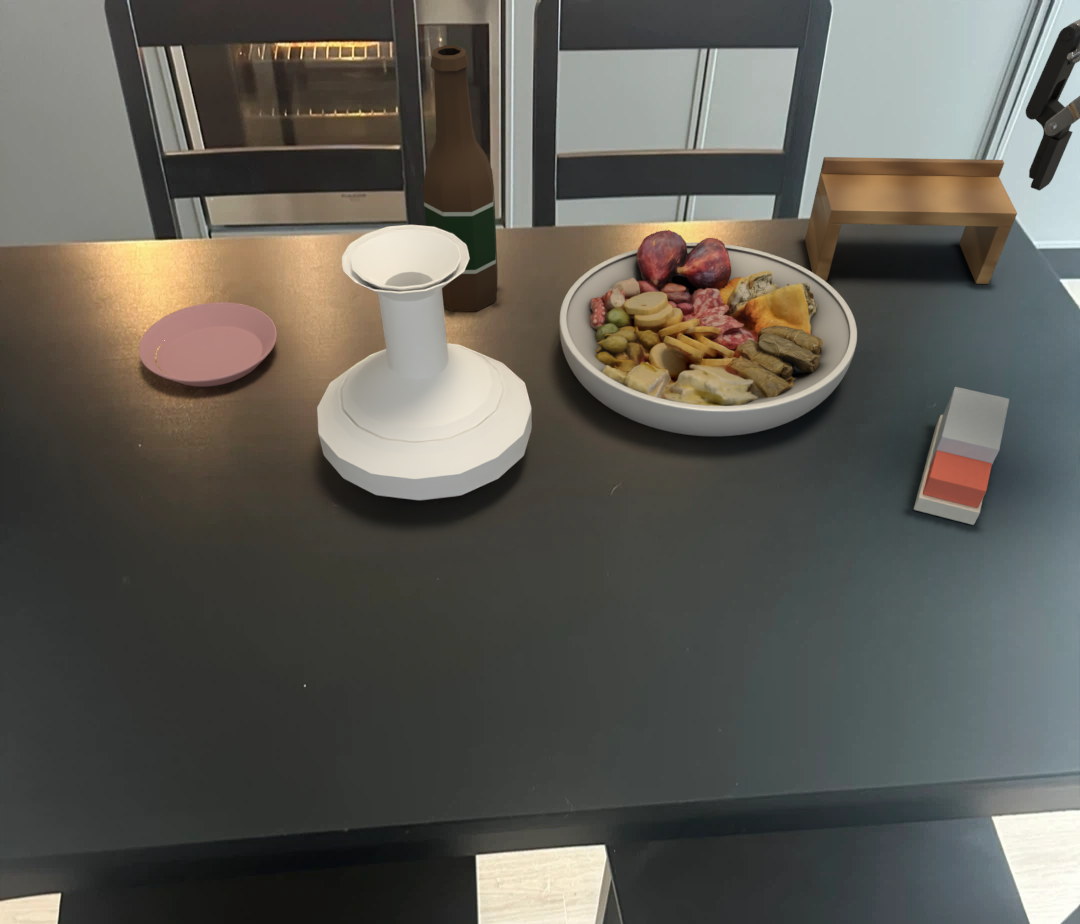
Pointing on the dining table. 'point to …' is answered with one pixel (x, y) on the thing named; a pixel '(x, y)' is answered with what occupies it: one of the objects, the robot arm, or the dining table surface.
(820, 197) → the shoe shelf
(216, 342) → the plate
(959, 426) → the stepped block with orange
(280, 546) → the dining table surface
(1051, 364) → the dining table surface
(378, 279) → the candle holder
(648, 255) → the bowl
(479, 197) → the beer bottle
